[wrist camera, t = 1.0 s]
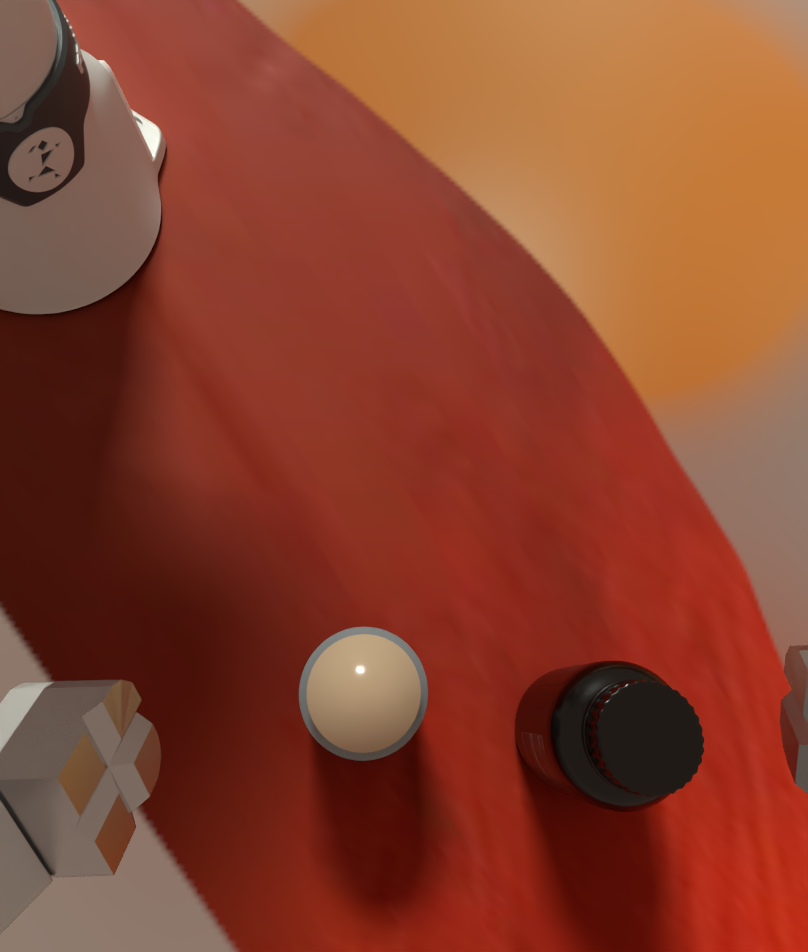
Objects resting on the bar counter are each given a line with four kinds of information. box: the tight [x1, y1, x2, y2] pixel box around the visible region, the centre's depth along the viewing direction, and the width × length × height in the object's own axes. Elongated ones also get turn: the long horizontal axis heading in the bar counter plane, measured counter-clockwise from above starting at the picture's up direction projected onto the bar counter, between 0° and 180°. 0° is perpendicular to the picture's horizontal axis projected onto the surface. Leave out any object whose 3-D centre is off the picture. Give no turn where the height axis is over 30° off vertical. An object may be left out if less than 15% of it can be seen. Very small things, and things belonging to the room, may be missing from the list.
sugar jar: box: [299, 627, 428, 761], centre depth 39 cm, size 6×6×9 cm
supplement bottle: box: [515, 661, 704, 812], centre depth 38 cm, size 7×7×12 cm
